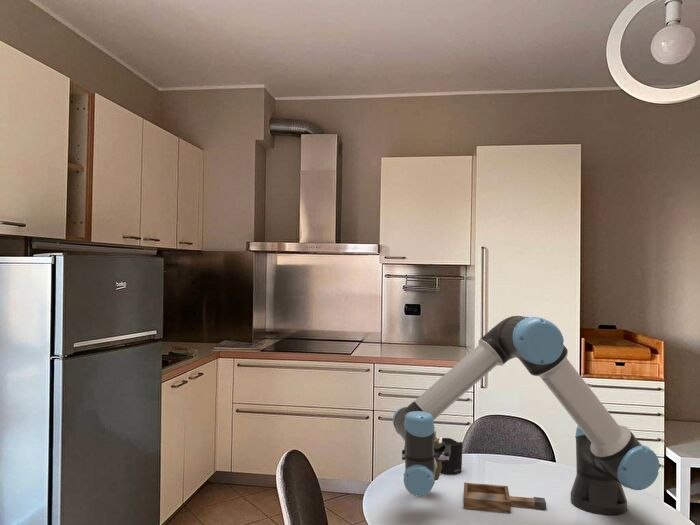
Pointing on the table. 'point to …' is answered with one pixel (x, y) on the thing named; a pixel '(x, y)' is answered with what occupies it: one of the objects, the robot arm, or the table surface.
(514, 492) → the table surface
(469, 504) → the wooden tray with handle
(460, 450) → the pen holder
